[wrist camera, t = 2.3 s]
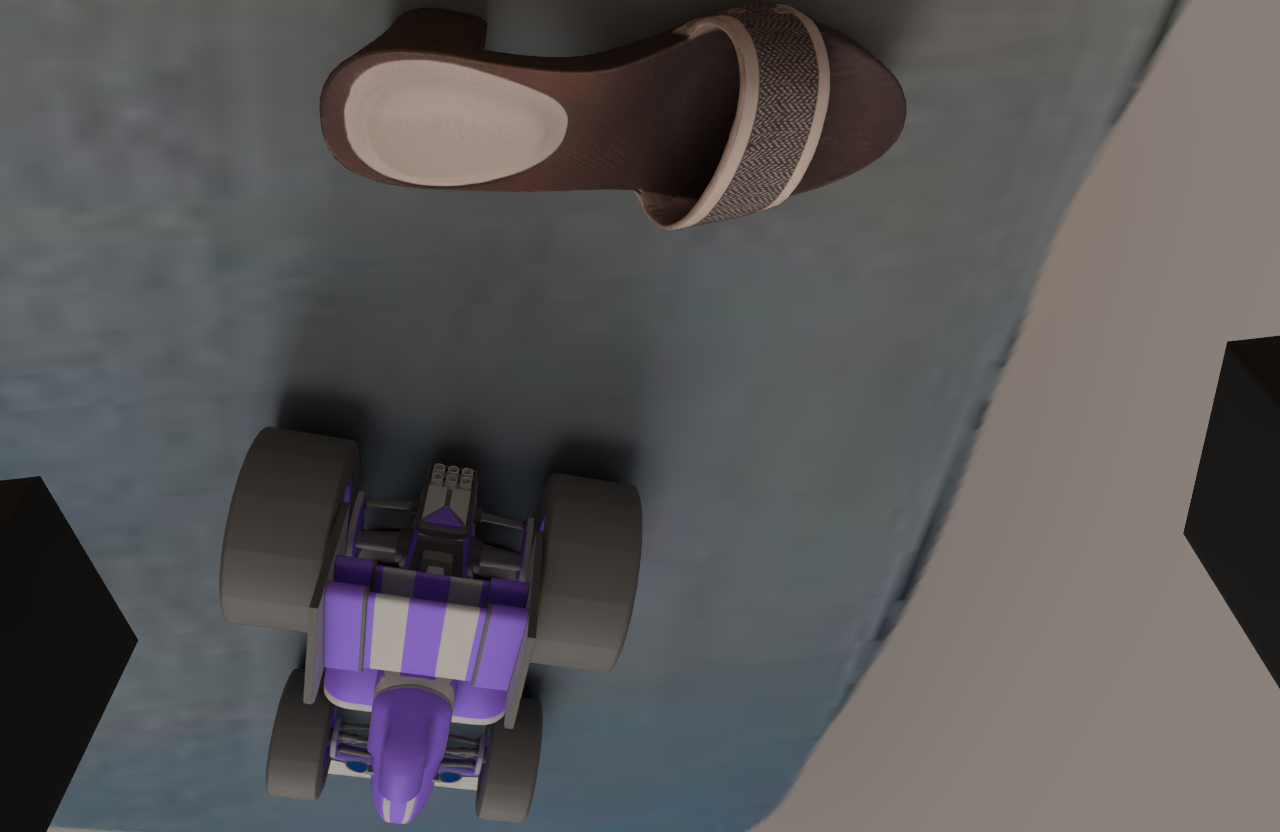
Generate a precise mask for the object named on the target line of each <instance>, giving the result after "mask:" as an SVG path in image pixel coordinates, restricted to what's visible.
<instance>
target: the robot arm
mask: <svg viewBox="0 0 1280 832" xmlns="http://www.w3.org/2000/svg"><path fill="white" fill-rule="evenodd" d="M1184 535H1185V537H1186V539H1187V540H1188V541H1189V543H1190V545H1191V546H1192V548H1193V550H1194V551H1195V553H1196V555H1197V556H1198V558H1199V559H1200V561H1201V563H1202V564H1203V566H1204V567H1205V569H1206V571H1207V572H1208V574H1209V576H1210V577H1211V579H1212V580H1213V582H1214V584H1215V585H1216V587H1217V588H1218V590H1219V592H1220V593H1221V595H1222V596H1223V598H1224V600H1225V601H1226V603H1227V605H1228V606H1229V608H1230V609H1231V611H1232V613H1233V614H1234V616H1235V617H1236V619H1237V621H1238V622H1239V624H1240V625H1241V627H1242V628H1243V630H1244V632H1245V634H1246V635H1247V637H1248V638H1249V640H1250V642H1251V643H1252V645H1253V646H1254V648H1255V650H1256V651H1257V653H1258V655H1259V656H1260V658H1261V659H1262V661H1263V662H1264V664H1265V666H1266V667H1267V669H1268V670H1269V672H1270V674H1271V675H1272V677H1273V679H1274V680H1275V682H1276V683H1277V685H1278V687H1279V688H1280V336H1274V337H1264V338H1256V339H1247V340H1238V341H1229V342H1227V346H1226V350H1225V354H1224V359H1223V363H1222V367H1221V372H1220V376H1219V380H1218V385H1217V389H1216V394H1215V398H1214V402H1213V407H1212V411H1211V415H1210V420H1209V424H1208V429H1207V433H1206V437H1205V442H1204V446H1203V450H1202V455H1201V459H1200V463H1199V468H1198V472H1197V477H1196V481H1195V485H1194V489H1193V494H1192V499H1191V503H1190V507H1189V511H1188V516H1187V520H1186V525H1185V529H1184ZM137 642H138V639H137V637H136V636H135V634H134V632H133V631H132V629H131V627H130V626H129V624H128V622H127V621H126V619H125V617H124V616H123V614H122V612H121V611H120V609H119V607H118V606H117V604H116V602H115V601H114V599H113V597H112V595H111V594H110V592H109V590H108V589H107V587H106V585H105V584H104V582H103V580H102V579H101V577H100V575H99V574H98V572H97V570H96V569H95V567H94V565H93V564H92V562H91V560H90V559H89V557H88V555H87V554H86V552H85V550H84V549H83V547H82V545H81V544H80V542H79V540H78V539H77V537H76V535H75V534H74V532H73V530H72V529H71V527H70V525H69V523H68V522H67V520H66V518H65V517H64V515H63V513H62V512H61V510H60V508H59V507H58V505H57V503H56V502H55V500H54V498H53V497H52V495H51V493H50V492H49V490H48V488H47V487H46V485H45V483H44V482H43V480H42V478H41V477H40V476H37V477H29V478H20V479H11V480H2V481H0V832H47V829H48V827H49V825H50V823H51V821H52V819H53V817H54V815H55V813H56V811H57V809H58V807H59V804H60V802H61V800H62V798H63V796H64V794H65V792H66V790H67V788H68V786H69V784H70V782H71V779H72V777H73V775H74V773H75V771H76V769H77V767H78V765H79V763H80V761H81V759H82V756H83V754H84V752H85V750H86V748H87V746H88V744H89V742H90V740H91V738H92V736H93V734H94V731H95V729H96V727H97V725H98V723H99V721H100V719H101V717H102V715H103V713H104V711H105V709H106V706H107V704H108V702H109V700H110V698H111V696H112V694H113V692H114V690H115V688H116V686H117V684H118V681H119V679H120V677H121V675H122V673H123V671H124V669H125V667H126V665H127V663H128V661H129V659H130V656H131V654H132V652H133V650H134V648H135V646H136V644H137Z"/></svg>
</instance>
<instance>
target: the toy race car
mask: <svg viewBox="0 0 1280 832" xmlns="http://www.w3.org/2000/svg"><path fill="white" fill-rule="evenodd" d="M359 478H360V455H359V449H358V445H357V443H356V442H355V441H353V440H348V439H342V438H336V437H330V436H324V435H318V434H311V433H305V432H299V431H293V430H286V429H280V428H274V427H266V428H264V429H262V430H261V431H260V432H259V434H258V435H257V436H256V438H255V440H254V441H253V443H252V445H251V447H250V449H249V451H248V453H247V455H246V457H245V460H244V462H243V465H242V468H241V470H240V473H239V476H238V480H237V483H236V486H235V490H234V493H233V497H232V501H231V505H230V509H229V514H228V518H227V523H226V529H225V534H224V540H223V547H222V555H221V565H220V601H221V608H222V612H223V616H224V618H225V619H226V620H227V621H228V622H231V623H237V624H245V625H252V626H260V627H267V628H274V629H282V630H289V631H297V632H305V633H308V634H307V650H306V666H305V669H294V670H293V671H292V673H291V674H290V676H289V678H288V680H287V682H286V685H285V687H284V690H283V693H282V696H281V699H280V703H279V706H278V710H277V714H276V718H275V722H274V727H273V731H272V736H271V741H270V747H269V753H268V760H267V769H266V788H267V793H268V794H269V795H271V796H278V797H287V798H296V799H305V800H317V799H318V797H319V796H320V794H321V792H322V790H323V787H324V784H325V781H326V778H327V774H328V773H329V774H338V775H346V776H355V777H364V778H371V785H372V793H373V798H374V802H375V805H376V808H377V810H378V812H379V814H380V816H381V817H382V819H383V820H384V821H386V822H391V823H398V824H407V823H409V822H410V821H412V820H413V819H414V818H415V817H416V816H417V815H418V813H419V812H420V811H421V809H422V808H423V807H424V805H425V803H426V801H427V799H428V797H429V795H430V793H431V791H432V788H433V786H442V787H450V788H459V789H468V790H476V791H477V792H476V814H477V818H479V819H485V820H494V821H503V822H512V823H523V822H524V821H525V819H526V817H527V815H528V812H529V809H530V806H531V802H532V798H533V794H534V789H535V783H536V778H537V772H538V765H539V758H540V749H541V740H542V725H543V712H542V705H541V702H540V700H538V699H531V698H523V697H521V696H522V692H523V688H524V684H525V680H526V676H527V672H528V668H529V664H530V663H536V664H544V665H551V666H559V667H566V668H573V669H581V670H588V671H596V672H609V671H611V669H612V668H613V667H614V665H615V663H616V661H617V659H618V657H619V655H620V653H621V650H622V647H623V645H624V642H625V638H626V635H627V632H628V628H629V624H630V620H631V615H632V611H633V606H634V601H635V595H636V589H637V583H638V575H639V568H640V558H641V547H642V508H641V500H640V496H639V492H638V490H637V488H636V487H635V486H633V485H628V484H622V483H616V482H610V481H604V480H598V479H591V478H585V477H579V476H573V475H566V474H559V473H553V474H552V475H551V476H550V477H549V479H548V481H547V483H546V485H545V487H544V490H543V493H542V496H541V500H540V504H539V508H538V512H537V516H536V521H535V520H534V518H532V517H528V519H527V521H523V523H522V522H518V521H515V520H511V519H507V518H504V517H500V516H496V515H492V514H489V513H485V512H482V511H483V508H479V507H476V504H477V483H478V472H477V471H475V470H472V469H470V468H458V467H457V466H445V465H443V464H440V463H438V464H430V465H429V466H428V469H427V473H426V478H425V483H424V486H423V490H422V494H421V497H420V498H415V497H413V498H412V501H401V500H379V499H369V497H366V494H365V492H363V491H359V493H358V489H359ZM367 506H374V507H385V508H396V509H407V510H410V514H416V515H415V519H414V522H413V526H409V527H408V529H407V528H404V529H400V531H399V532H396V531H366V529H363V521H364V512H365V508H367ZM481 521H485V522H490V523H495V524H499V525H504V526H508V527H513V528H518V529H522V531H523V532H524V534H523V538H522V543H521V548H520V552H518V551H517V552H516V553H514V552H510V551H507V550H503V549H499V548H496V547H492V546H489V545H485V544H483V543H484V541H482V540H481V539H477V536H475V525H476V524H480V523H481ZM534 524H535V526H534ZM358 548H361V549H360V550H359V552H358V554H357V556H356V553H357V550H358ZM324 667H326V670H325V672H323V670H324ZM341 707H342V708H346V709H352V710H359V711H367V712H371V720H370V725H362V724H345V723H344V722H343V719H342V717H340V711H341ZM451 722H456V723H464V724H472V725H486V730H485V735H482V734H481V736H480V739H476V740H475V739H470V738H465V737H460V736H455V735H450V734H449V730H450V725H451ZM344 729H359V730H369V737H368V738H365V737H360V736H358V735H355V734H352V735H350V734H345V733H343V732H342V730H344ZM448 739H449V740H454V741H459V742H464V743H469V744H474V745H475V746H478V748H475V749H467V748H463V747H461V748H446V745H447V740H448ZM343 742H346V743H350V744H356V743H366V744H368V745H367V749H364V748H359V747H354V746H350V745H347V744H343ZM445 753H450V754H455V755H460V757H471V758H473V759H447V758H444V754H445Z"/></svg>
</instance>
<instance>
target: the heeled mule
mask: <svg viewBox="0 0 1280 832" xmlns="http://www.w3.org/2000/svg"><path fill="white" fill-rule="evenodd" d="M486 30H487V22H486V20H484V19H483V18H481V17H478V16H474V15H470V14H466V13H461V12H457V11H452V10H446V9H439V8H419V9H414V10H411V11H408V12H405V13H404V14H402V15H401V16H399V17H398V18H397V19H396V21H395V22H394V23H393V24H392V25H391V26H390V27H389V29H388V30H387V31H385V32H384V33H383V34H382V35H381V36H379V37H378V38H376V39H375V40H374V41H372V42H371V43H370V44H368V45H367V46H365V47H364V48H362V49H361V50H359V51H358V52H357V53H355V54H354V55H352V56H351V57H349V58H348V59H346V60H344V61H343V62H341V63H340V64H339V65H338V66H337V67H336V68H335V69H334V70H333V71H332V72H331V73H330V75H329V77H328V79H327V80H326V82H325V84H324V86H323V90H322V93H321V97H320V118H321V127H322V132H323V137H324V139H325V142H326V144H327V147H328V149H329V150H330V152H331V153H332V155H333V156H334V157H335V159H336V160H337V161H338V162H340V163H341V164H342V165H343V166H344V167H345V168H347V169H349V170H351V171H353V172H355V173H357V174H359V175H361V176H364V177H366V178H369V179H371V180H374V181H377V182H381V183H385V184H391V185H397V186H404V187H412V188H421V189H434V190H470V191H491V192H494V191H514V192H516V191H528V192H532V191H570V190H600V189H612V190H632V191H633V192H634V193H636V195H637V196H638V198H639V201H640V204H641V206H642V208H643V210H644V212H645V214H646V215H647V216H648V218H649V219H650V220H651V221H652V222H653V223H654V224H655V225H656V226H658V227H659V228H661V229H665V230H674V229H679V228H686V227H689V226H696V225H701V224H706V223H711V222H716V221H722V220H728V219H733V218H737V217H741V216H745V215H749V214H752V213H755V212H758V211H762V210H765V209H768V208H771V207H774V206H777V205H778V204H780V203H782V202H783V201H784V200H785V199H787V198H788V196H791V195H795V194H799V193H802V192H806V191H809V190H813V189H816V188H819V187H822V186H825V185H828V184H830V183H833V182H835V181H838V180H840V179H843V178H845V177H847V176H849V175H851V174H853V173H855V172H857V171H859V170H861V169H863V168H864V167H866V166H867V165H869V164H871V163H872V162H874V161H875V160H877V159H878V158H880V157H881V156H882V155H883V154H884V153H885V152H886V151H887V150H889V149H890V147H891V146H892V145H893V144H894V143H895V142H896V140H897V139H898V137H899V135H900V133H901V131H902V129H903V126H904V122H905V118H906V100H905V97H904V93H903V90H902V88H901V86H900V84H899V82H898V80H897V79H896V77H895V76H894V75H893V74H892V73H891V72H890V70H888V69H887V68H886V67H885V66H884V65H883V64H882V63H881V62H880V61H879V60H878V59H876V58H875V57H874V56H873V55H872V54H871V53H870V52H869V51H868V50H866V49H865V48H864V47H863V46H861V45H860V44H859V43H857V42H856V41H854V40H853V39H851V38H850V37H848V36H847V35H845V34H844V33H842V32H840V31H838V30H836V29H834V28H831V27H829V26H827V25H824V24H822V23H819V22H817V21H814V20H811V19H810V18H809V17H807V16H806V15H804V14H803V13H801V12H799V11H798V10H796V9H794V8H793V7H791V6H789V5H781V4H751V5H744V6H732V7H728V8H725V9H721V10H718V11H714V12H710V13H707V14H703V15H701V16H698V17H696V18H694V19H692V20H690V21H689V22H687V23H686V24H684V25H683V26H680V27H677V28H674V29H671V30H668V31H665V32H663V33H660V34H657V35H655V36H652V37H649V38H646V39H644V40H641V41H638V42H635V43H632V44H629V45H625V46H622V47H617V48H614V49H610V50H607V51H604V52H599V53H595V54H590V55H584V56H576V57H537V56H525V55H515V54H508V53H501V52H493V51H487V50H484V47H485V41H486Z"/></svg>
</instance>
